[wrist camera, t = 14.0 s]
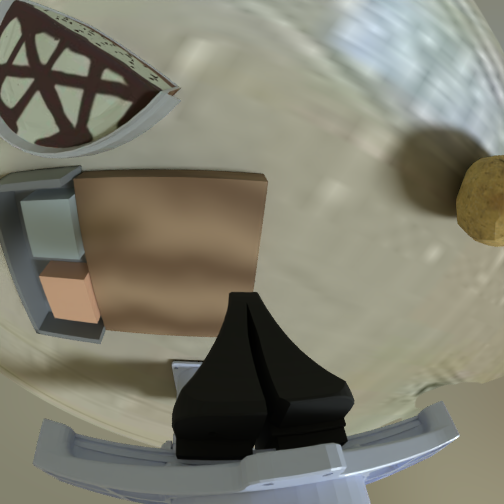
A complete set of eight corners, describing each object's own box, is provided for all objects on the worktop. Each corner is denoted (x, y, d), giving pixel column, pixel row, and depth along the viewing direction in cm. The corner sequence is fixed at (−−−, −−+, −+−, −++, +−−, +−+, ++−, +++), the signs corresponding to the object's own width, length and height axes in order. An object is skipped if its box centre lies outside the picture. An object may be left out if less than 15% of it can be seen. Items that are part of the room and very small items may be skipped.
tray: (109, 319, 26) (100, 343, 23) (48, 311, 25) (36, 333, 22) (80, 165, 18) (59, 178, 15) (10, 173, 17) (-13, 186, 14)
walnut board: (244, 322, 28) (246, 337, 26) (110, 316, 26) (105, 329, 24) (263, 174, 20) (268, 181, 19) (84, 171, 18) (73, 178, 16)
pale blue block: (90, 243, 21) (79, 259, 19) (46, 242, 20) (33, 256, 18) (82, 187, 18) (68, 199, 16) (36, 190, 18) (20, 201, 15)
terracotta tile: (104, 305, 24) (97, 323, 22) (63, 301, 24) (54, 317, 22) (94, 263, 22) (84, 279, 20) (50, 260, 21) (38, 275, 19)
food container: (37, 84, 14) (-52, 97, 5) (81, 19, 12) (2, -9, 3) (142, 165, 19) (87, 223, 10) (196, 100, 17) (173, 100, 8)
